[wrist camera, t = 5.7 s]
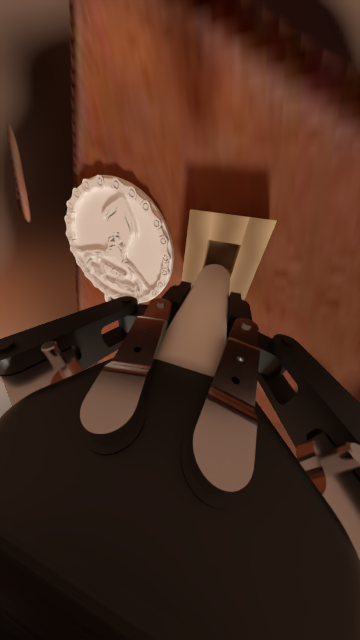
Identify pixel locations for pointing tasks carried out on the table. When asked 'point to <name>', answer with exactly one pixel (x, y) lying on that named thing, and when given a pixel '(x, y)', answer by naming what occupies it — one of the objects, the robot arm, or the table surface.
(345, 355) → the table surface
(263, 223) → the bore block
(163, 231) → the medallion
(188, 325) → the cream pin
